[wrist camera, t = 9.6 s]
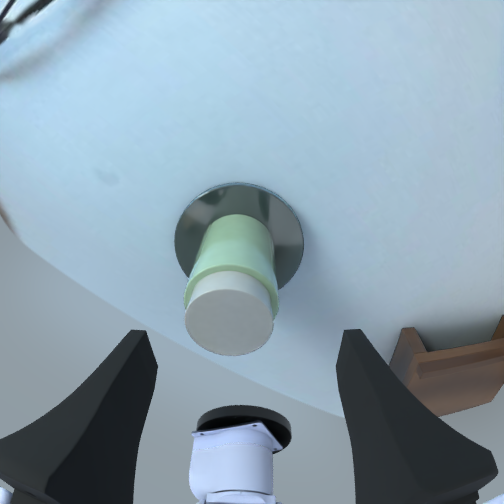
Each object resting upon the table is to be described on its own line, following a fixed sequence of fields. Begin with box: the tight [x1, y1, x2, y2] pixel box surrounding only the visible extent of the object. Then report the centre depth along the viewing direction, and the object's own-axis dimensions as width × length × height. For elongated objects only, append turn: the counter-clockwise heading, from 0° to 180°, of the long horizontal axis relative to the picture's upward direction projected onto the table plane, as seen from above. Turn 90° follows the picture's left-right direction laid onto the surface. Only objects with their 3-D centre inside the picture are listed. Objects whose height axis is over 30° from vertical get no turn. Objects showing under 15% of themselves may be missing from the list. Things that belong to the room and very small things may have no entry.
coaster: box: [174, 183, 304, 290], centre depth 20 cm, size 8×8×1 cm
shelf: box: [389, 315, 504, 417], centre depth 23 cm, size 9×13×5 cm
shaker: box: [184, 214, 279, 356], centre depth 17 cm, size 4×4×7 cm
